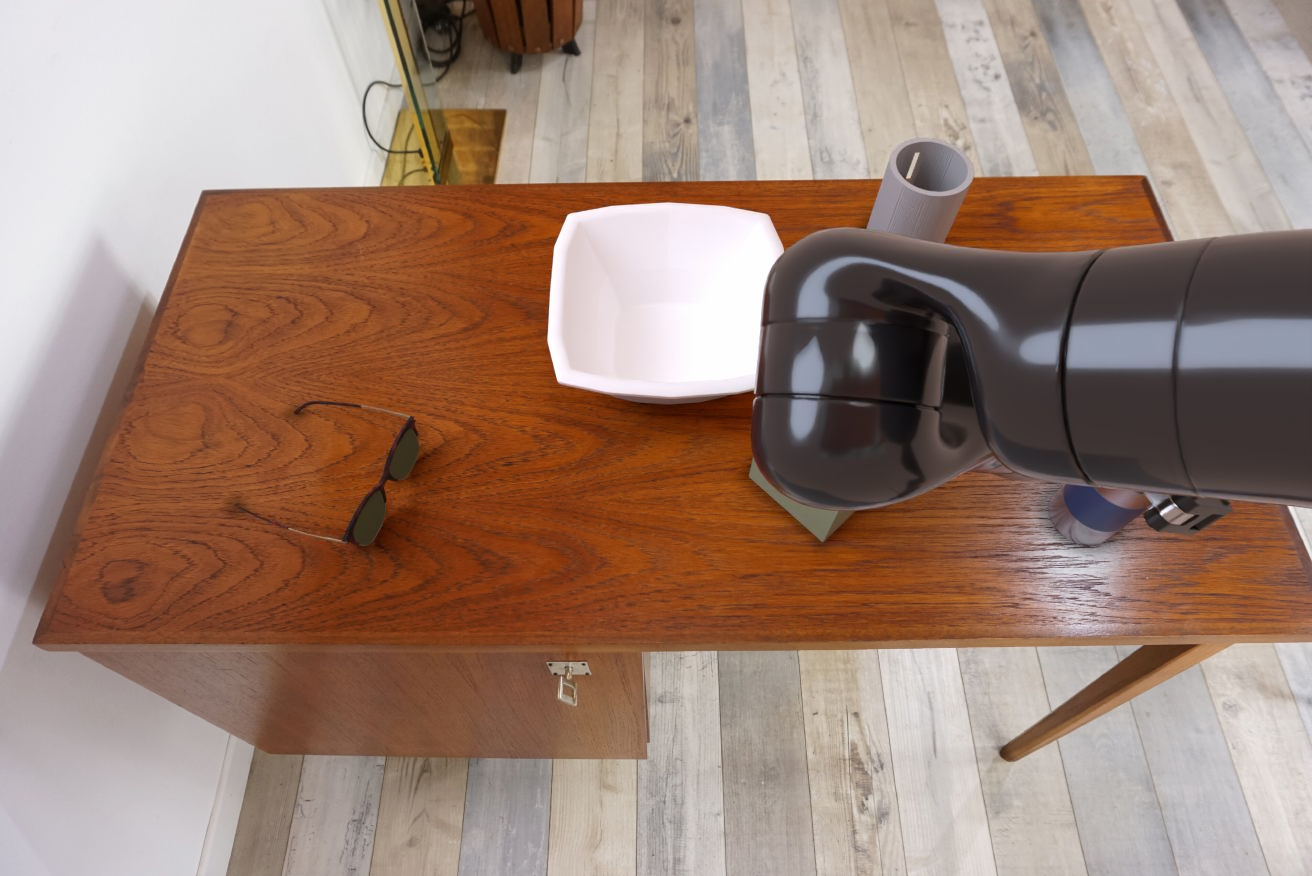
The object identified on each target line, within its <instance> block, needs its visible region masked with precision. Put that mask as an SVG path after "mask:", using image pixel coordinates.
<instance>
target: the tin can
mask: <svg viewBox="0 0 1312 876" xmlns="http://www.w3.org/2000/svg"><path fill="white" fill-rule="evenodd" d="M1151 504H1152V503H1151V501H1150V500H1149V499H1148V498H1147V497H1146V495H1139V494H1137V493H1135V492H1134V491H1129V490H1119V489H1109V488H1103V487H1090V486H1081V485H1072V484H1062V486H1060V488H1059V489H1058V490H1057V491H1055V493H1054V494H1052V496H1051V498H1050V499H1049V502H1048V507H1047V508H1048V516H1049V520H1050V522H1051V524H1052V525H1053V527H1054V528H1055V529H1056V530H1057V532H1058V533H1059V534H1060V535H1061V536H1062V537H1063V538H1065V539H1067V540H1068V541H1070V542H1072V543H1074V544H1077V545H1081V546H1085V547H1086V546H1087V547H1090V546H1091V547H1092V546H1099V545H1101V544H1103V543H1105V542H1106V541H1108V540H1109V539H1110V538H1112V537H1113V536H1114V535H1116V533H1118V532H1119V531H1121V530H1123V529H1124V528H1126V527H1127V526H1128V525H1129V524H1131V523H1132V522H1134V521H1135V520H1136V519H1137V518H1138V517H1140V516H1141V515H1143V513H1145V512H1146V511H1147V507H1148V506H1149V505H1151Z"/></svg>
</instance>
